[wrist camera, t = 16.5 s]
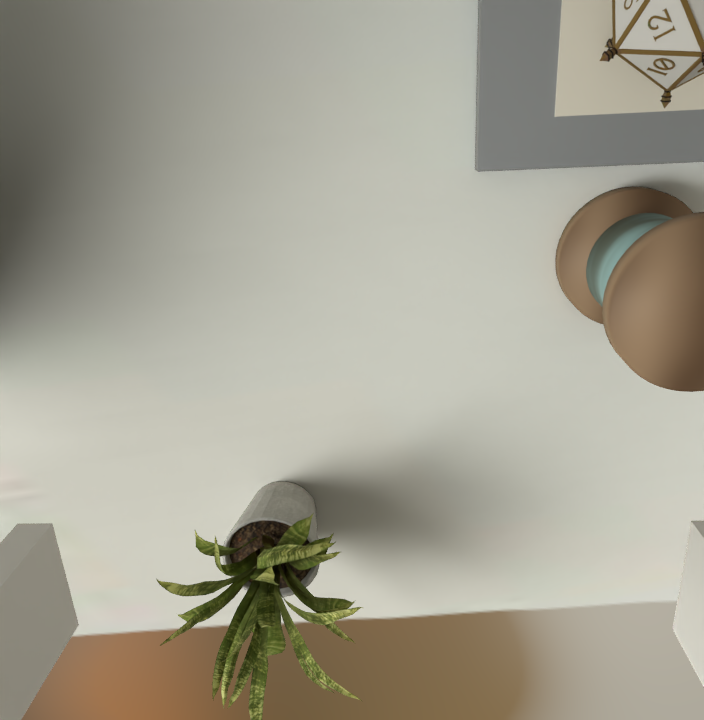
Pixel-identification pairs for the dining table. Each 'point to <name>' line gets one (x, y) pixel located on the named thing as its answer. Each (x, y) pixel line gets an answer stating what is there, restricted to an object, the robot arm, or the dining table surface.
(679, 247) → the bobbin
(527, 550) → the dining table surface
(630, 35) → the game die
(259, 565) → the house plant
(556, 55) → the notched board
